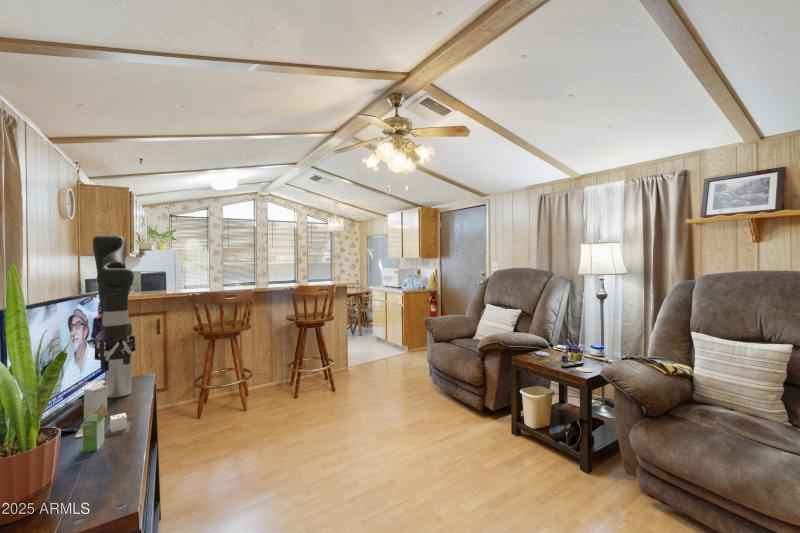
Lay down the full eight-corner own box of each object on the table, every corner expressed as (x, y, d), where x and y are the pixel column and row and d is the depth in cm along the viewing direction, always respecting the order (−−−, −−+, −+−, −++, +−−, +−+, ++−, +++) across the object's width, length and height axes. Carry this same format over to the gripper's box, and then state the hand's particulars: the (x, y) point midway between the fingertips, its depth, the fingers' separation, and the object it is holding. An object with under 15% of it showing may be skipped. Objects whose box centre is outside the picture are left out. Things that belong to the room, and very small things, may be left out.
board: (82, 423, 140) (82, 421, 140) (105, 419, 143) (105, 417, 143) (74, 439, 127) (74, 437, 127) (100, 434, 131) (100, 432, 131)
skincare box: (92, 421, 141) (92, 390, 141) (83, 420, 142) (83, 389, 142) (107, 415, 147) (107, 385, 147) (99, 414, 148) (99, 384, 148)
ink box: (90, 443, 124) (90, 404, 124) (104, 441, 126) (104, 402, 126) (82, 453, 118) (81, 411, 118) (97, 451, 120) (97, 409, 119)
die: (110, 428, 135) (110, 415, 135) (125, 424, 138) (125, 412, 138) (111, 432, 132) (111, 419, 132) (126, 428, 135) (126, 416, 135)
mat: (108, 426, 137) (108, 425, 137) (131, 422, 141) (131, 421, 141) (104, 437, 129) (104, 436, 129) (129, 432, 133) (129, 431, 133)
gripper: (123, 319, 142) (124, 362, 142) (87, 326, 128) (88, 372, 128) (141, 320, 141) (141, 362, 141) (106, 326, 127) (107, 373, 127)
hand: (116, 367), depth 134 cm, fingers open, 8 cm apart
